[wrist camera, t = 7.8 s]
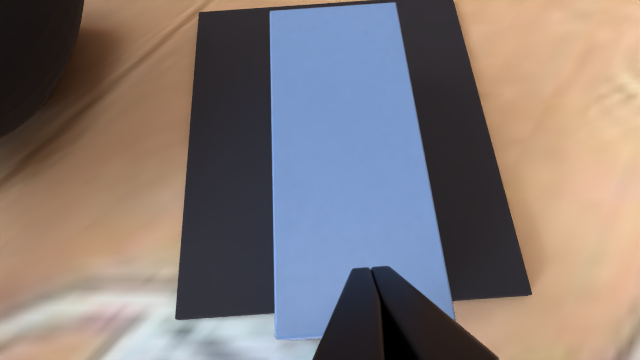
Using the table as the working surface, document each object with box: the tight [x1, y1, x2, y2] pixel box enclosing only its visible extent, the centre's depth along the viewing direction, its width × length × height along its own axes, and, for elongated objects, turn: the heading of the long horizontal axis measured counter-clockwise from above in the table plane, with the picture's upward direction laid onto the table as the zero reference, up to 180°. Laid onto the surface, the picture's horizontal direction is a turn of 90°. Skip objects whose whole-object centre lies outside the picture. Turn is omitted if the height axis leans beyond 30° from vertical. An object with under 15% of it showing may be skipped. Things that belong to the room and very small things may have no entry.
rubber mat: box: [175, 0, 532, 320], centre depth 18 cm, size 16×14×1 cm
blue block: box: [270, 2, 456, 341], centre depth 15 cm, size 4×5×12 cm
